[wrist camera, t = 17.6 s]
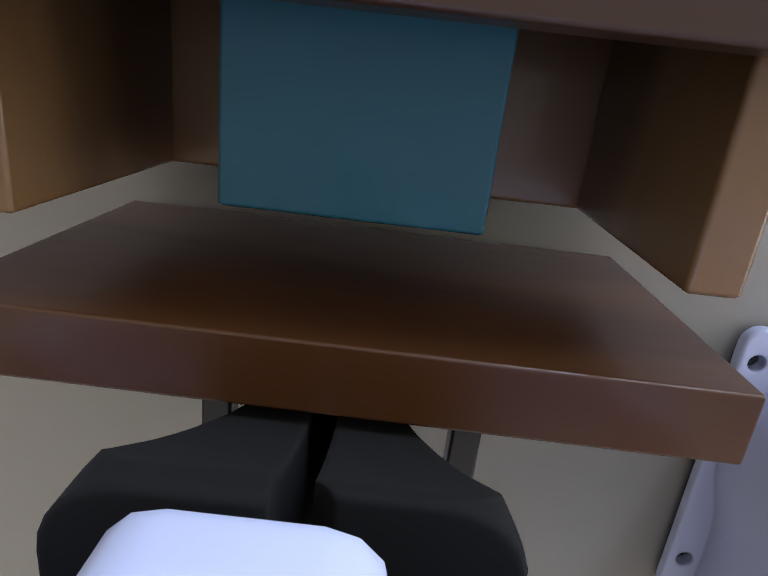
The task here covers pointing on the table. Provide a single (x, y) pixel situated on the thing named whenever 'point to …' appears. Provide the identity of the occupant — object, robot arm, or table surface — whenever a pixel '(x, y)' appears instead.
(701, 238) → the drawer
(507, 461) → the table surface
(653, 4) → the cabinet
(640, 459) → the table surface
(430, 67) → the box
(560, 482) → the table surface
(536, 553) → the table surface
